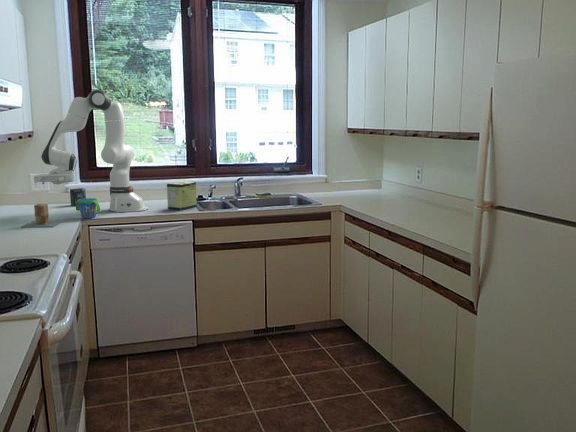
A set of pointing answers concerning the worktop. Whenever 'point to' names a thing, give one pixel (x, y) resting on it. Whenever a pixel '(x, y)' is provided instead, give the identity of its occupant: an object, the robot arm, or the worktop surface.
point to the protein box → (181, 195)
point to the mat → (33, 224)
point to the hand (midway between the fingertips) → (49, 179)
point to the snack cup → (87, 207)
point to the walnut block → (41, 214)
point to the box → (77, 195)
